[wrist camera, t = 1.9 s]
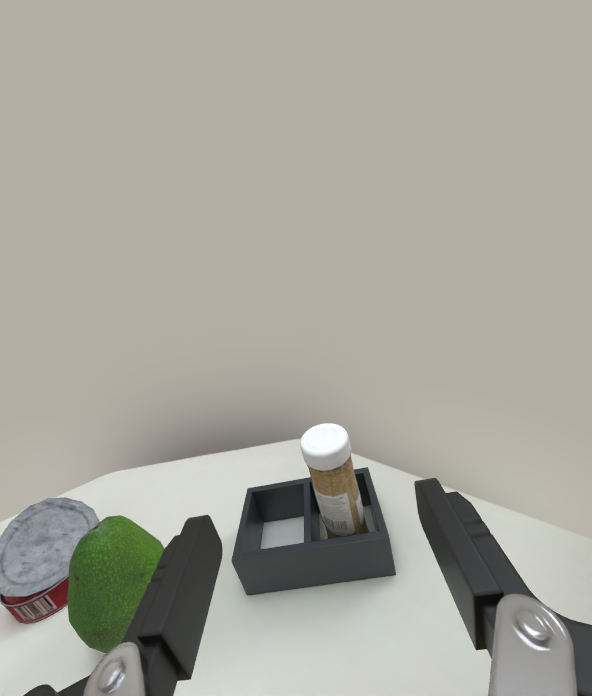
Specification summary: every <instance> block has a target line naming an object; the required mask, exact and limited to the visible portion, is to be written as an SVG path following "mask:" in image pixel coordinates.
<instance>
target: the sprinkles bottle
mask: <svg viewBox="0 0 592 696" xmlns="http://www.w3.org/2000/svg"><path fill="white" fill-rule="evenodd" d="M300 445H301V450H302V454H303V458H304V460H305V462H306V464H307V466H308V468H309V472H310V475H311V479H312V484H313V488H314V491H315V495H316V498H317V502H318V505H319V509H320V512H321V516H322V519H323V522H324V524H325V527H326V530H327V534H328V539H333V538H339V537H346V536H352V535H359V534H365V533H369V530H368V527H367V525H366V521H365V517H364V510H363V505H362V501H361V497H360V492H359V489H358V484H357V481H356V478H355V474H354V469H353V464H352V460H351V446H350V441H349V437H348V434H347V432H346V430H345V429H344V428H343V427H341V426H339V425H336V424H330V423H328V424H320V425H317V426H314V427H312V428H311V429H309V430H308V431H307V432H305V434H304V435H303V436H302V438H301V442H300Z"/></svg>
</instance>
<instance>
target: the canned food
mask: <svg viewBox="0 0 592 696" xmlns="http://www.w3.org/2000/svg"><path fill="white" fill-rule="evenodd" d="M98 523H99V519H98V517H97V516H96V514H95V512H94V510H93V509H92V508H90V507H89V506H87V505H86V504H84V503H83V502H82V501H76V500H72V499H68V498H49V499H46V500H44V501H42V502H40V503H37V504H34V505H31V506H29V507H28V508H27V509H26V510H24V511H23V512H22V513H20V514H19V515H18V516H17V517H16V518H15V519H13V520H12V521H11V522H10V523H9V525H8V526H7V528H6V529H5V531H4V532H3V534H2V535H1V536H0V602H1V604H3V605H4V606H5V607H6V608H7V609H8V610H9V612H10V613H11V614H12V615H13V616H14V617H15V618H16V620H18V621H19V622H21V623H31V622H36V621H39V620H42V619H44V618H46V617H48V616H50V615H52V614H54V613H56V612H57V611H59V610H60V609H62V608H63V607H64V606H66V605H67V604H68V600H67V596H68V586H69V564H70V560H71V557H72V555H73V552H74V550H75V548H76V546H77V544H78V542H79V540H80V539H81V538H82V537H83V536H84V535H85V534H86V533H87V532H88V531H89V530H90V529H92V528H93V527H94V526H96V525H97V524H98Z"/></svg>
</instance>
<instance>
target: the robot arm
mask: <svg viewBox="0 0 592 696" xmlns="http://www.w3.org/2000/svg"><path fill="white" fill-rule="evenodd" d="M415 492H416V500H417V508H418V514H419V518H420V521H421V524H422V527H423V530H424V532H425V534H426V537H427V539H428V541H429V544H430V546H431V548H432V550H433V553H434V555H435V557H436V560H437V562H438V564H439V566H440V569H441V571H442V573H443V576H444V578H445V580H446V583H447V585H448V587H449V589H450V592H451V594H452V596H453V599H454V601H455V603H456V605H457V608H458V610H459V612H460V615H461V617H462V619H463V621H464V624H465V626H466V628H467V631H468V633H469V635H470V638H471V640H472V642H473V644H474V647H475V649H476V650H482V649H487V650H488V652H489V654H490V656H491V659H492V662H491V672H490V683H489V693H488V696H592V625H589V624H585V623H581V622H577V621H574V620H571V619H568V618H566V617H563V616H561V615H560V614H558V613H556V612H554V611H553V610H551V609H550V608H548V607H547V606H546V605H544V604H543V603H542V602H541V601H540V600H538V599H537V598H536V597H535V596H534V595H533V593H532V592H531V591H530V590H529V589H528V587H527V586H526V584H525V583H524V581H523V580H522V578H521V577H520V575H519V574H518V572H517V571H516V569H515V568H514V566H513V565H512V563H511V562H510V560H509V559H508V557H507V556H506V555H505V553H504V552H503V550H502V549H501V547H500V546H499V544H498V543H497V541H496V540H495V538H494V537H493V535H491V533H490V531H489V529H488V528H487V526H486V525H485V523H484V522H483V521H482V519H481V517H480V516H479V514H478V513H477V511H476V510H475V508H474V507H473V505H472V504H471V503H470V502H469V501H468V500H466V499H465V498H464V497H463V496H462V495H460V494H459V493H458V492H451V493H445V491H444V490H443V488H442V486H441V485H440V483H439V481H438V480H437V479H436V478H431V479H425V480H419V481H415ZM221 559H222V543H221V540H220V538H219V535H218V533H217V531H216V529H215V527H214V524H213V522H212V520H211V518H210V516H209V515H204V516H198V517H192V518H188V519H187V521H186V522H185V524H184V527H183V529H182V531H181V534H180V535H177V536H175V537H174V538H173V539H172V540H171V542H170V543H169V544H168V546H167V547H166V548H165V549H164V551H163V553H162V555H161V558H160V560H159V562H158V564H157V569H155V571H154V573H153V575H152V577H151V582H150V583H149V584H148V586H147V588H146V591H145V593H144V595H143V597H142V599H141V602H140V604H139V606H138V608H137V610H136V612H135V615H134V617H133V619H132V621H131V623H130V626H129V628H128V630H127V632H126V634H125V636H124V638H123V640H122V642H121V644H120V645H118V646H116V647H115V648H113V649H112V650H111V651H110V652H108V653H107V654H106V655H105V656H104V657H103V658H102V660H101V661H100V662H99V663H98V665H97V666H96V668H95V669H94V671H93V672H92V674H91V675H89V676H88V677H86V678H84V679H82V680H80V681H78V682H76V683H75V684H73V685H71V686H69V687H67V688H65V689H63V690H62V691H60V692H58V693H57V692H56V691H55V690H54V689H53V688H52V687H51V686H50V685H47V684H46V685H40V686H37V687H35V688H33V689H32V690H30V691H29V692H28V693H26V694H25V695H24V696H173V694H174V691H175V687H176V684H177V681H180V680H189V679H191V677H192V673H193V669H194V665H195V661H196V657H197V653H198V649H199V645H200V641H201V638H202V634H203V630H204V626H205V622H206V618H207V614H208V610H209V606H210V602H211V599H212V595H213V591H214V587H215V583H216V579H217V575H218V571H219V567H220V563H221Z"/></svg>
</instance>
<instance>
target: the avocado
mask: <svg viewBox="0 0 592 696" xmlns="http://www.w3.org/2000/svg"><path fill="white" fill-rule="evenodd" d="M163 551H164V547H163V545H162V544H161V542H160V541H159V540H157V539H156V538H155V537H153V536H152V535H151V534H149V533H148V532H147V531H145V530H144V529H143V528H141V527H140V526H138V525H137V524H135V523H134V522H133V521H131V520H130V519H128V518H126V517H123V516H111V517H106V518H105V519H104V520H102V521H101V522H100V523H98V524H97V525H96V526H94V527H93V528H92V529H90V530H89V531H88V532H87V533H86V534H85V535H84V536H83V537H82V538H81V539H80V540H79V542H78V544H77V546H76V548H75V550H74V552H73V555H72V557H71V560H70V564H69V586H68V596H67V600H68V613H69V621H70V623H71V625H72V626H73V628H74V629H75V631H76V632H77V634H78V635H79V637H80V638H81V639H82V640H83V641H84V642H85V643H86V644H87V645H88V646H89V647H90V648H93V649H96V650H98V651H101V652H105V653H108V652H110V651H111V650H112V649H113V648H115V647H116V646H118V645H120V644H121V642H122V640H123V638H124V636H125V634H126V632H127V630H128V628H129V626H130V623H131V621H132V619H133V617H134V615H135V612H136V610H137V608H138V606H139V604H140V602H141V599H142V597H143V595H144V593H145V591H146V588H147V586H148V584H149V583H150V582H151V577H152V575H153V573H154V571H155V569H157V564H158V562H159V560H160V558H161V555H162V553H163Z"/></svg>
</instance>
